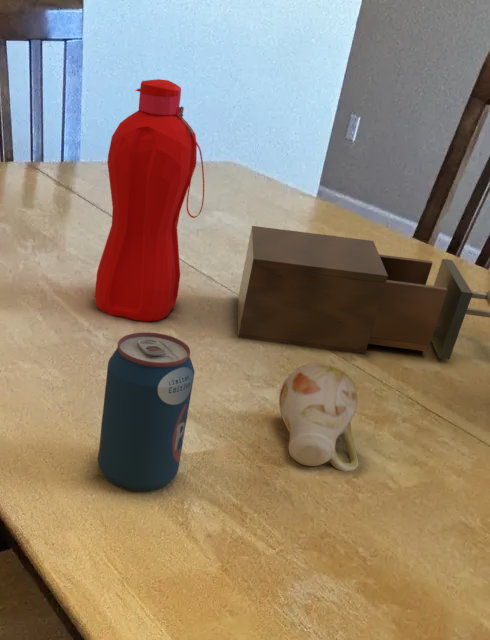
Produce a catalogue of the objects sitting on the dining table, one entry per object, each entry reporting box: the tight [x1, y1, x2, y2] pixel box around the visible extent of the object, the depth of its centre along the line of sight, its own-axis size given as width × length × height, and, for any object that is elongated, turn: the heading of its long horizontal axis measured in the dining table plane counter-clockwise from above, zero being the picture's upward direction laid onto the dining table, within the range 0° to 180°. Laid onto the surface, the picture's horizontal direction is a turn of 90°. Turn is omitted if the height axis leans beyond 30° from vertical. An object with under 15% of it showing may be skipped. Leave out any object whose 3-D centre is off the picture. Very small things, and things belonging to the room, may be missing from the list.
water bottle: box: [94, 78, 205, 323], centre depth 99 cm, size 9×11×25 cm
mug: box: [278, 363, 359, 472], centre depth 81 cm, size 8×10×10 cm
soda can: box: [97, 331, 195, 493], centre depth 72 cm, size 7×7×12 cm
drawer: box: [368, 253, 490, 360], centre depth 102 cm, size 19×11×8 cm, turn 82°
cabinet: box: [237, 225, 388, 356], centre depth 103 cm, size 15×13×10 cm
